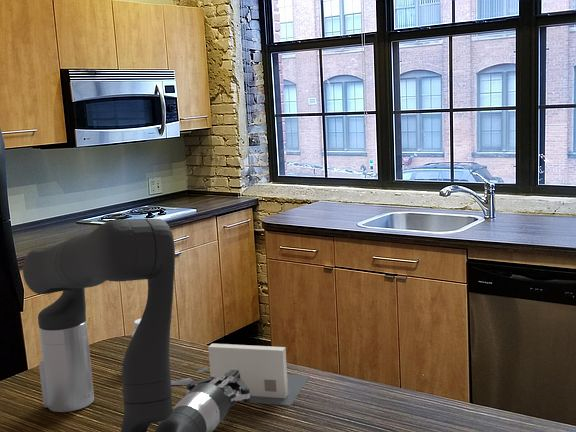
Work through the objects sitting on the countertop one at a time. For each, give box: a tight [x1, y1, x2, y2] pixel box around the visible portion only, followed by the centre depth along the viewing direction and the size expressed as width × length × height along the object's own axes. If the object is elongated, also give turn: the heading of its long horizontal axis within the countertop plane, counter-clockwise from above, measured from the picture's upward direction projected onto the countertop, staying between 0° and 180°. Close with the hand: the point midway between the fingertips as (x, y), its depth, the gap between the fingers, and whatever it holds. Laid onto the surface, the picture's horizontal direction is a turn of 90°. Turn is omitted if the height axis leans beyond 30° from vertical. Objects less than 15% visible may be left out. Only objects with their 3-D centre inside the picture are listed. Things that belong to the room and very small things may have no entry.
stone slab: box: [171, 366, 209, 386], centre depth 149 cm, size 18×2×10 cm
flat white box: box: [208, 343, 288, 398], centre depth 137 cm, size 16×2×10 cm, turn 73°
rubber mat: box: [236, 373, 311, 406], centre depth 141 cm, size 20×15×1 cm
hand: (235, 374), depth 130 cm, fingers closed
